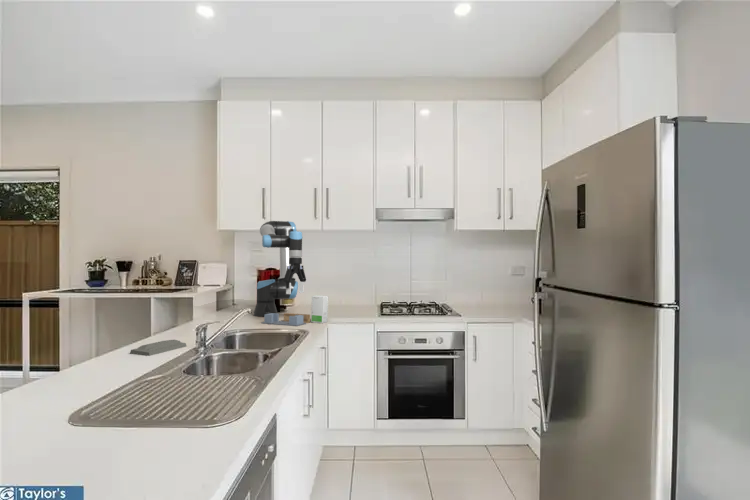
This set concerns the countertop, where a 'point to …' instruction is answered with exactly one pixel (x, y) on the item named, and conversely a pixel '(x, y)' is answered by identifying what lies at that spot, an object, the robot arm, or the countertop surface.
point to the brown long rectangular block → (305, 316)
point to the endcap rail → (274, 319)
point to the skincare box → (319, 309)
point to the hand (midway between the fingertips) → (295, 293)
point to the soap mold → (158, 347)
